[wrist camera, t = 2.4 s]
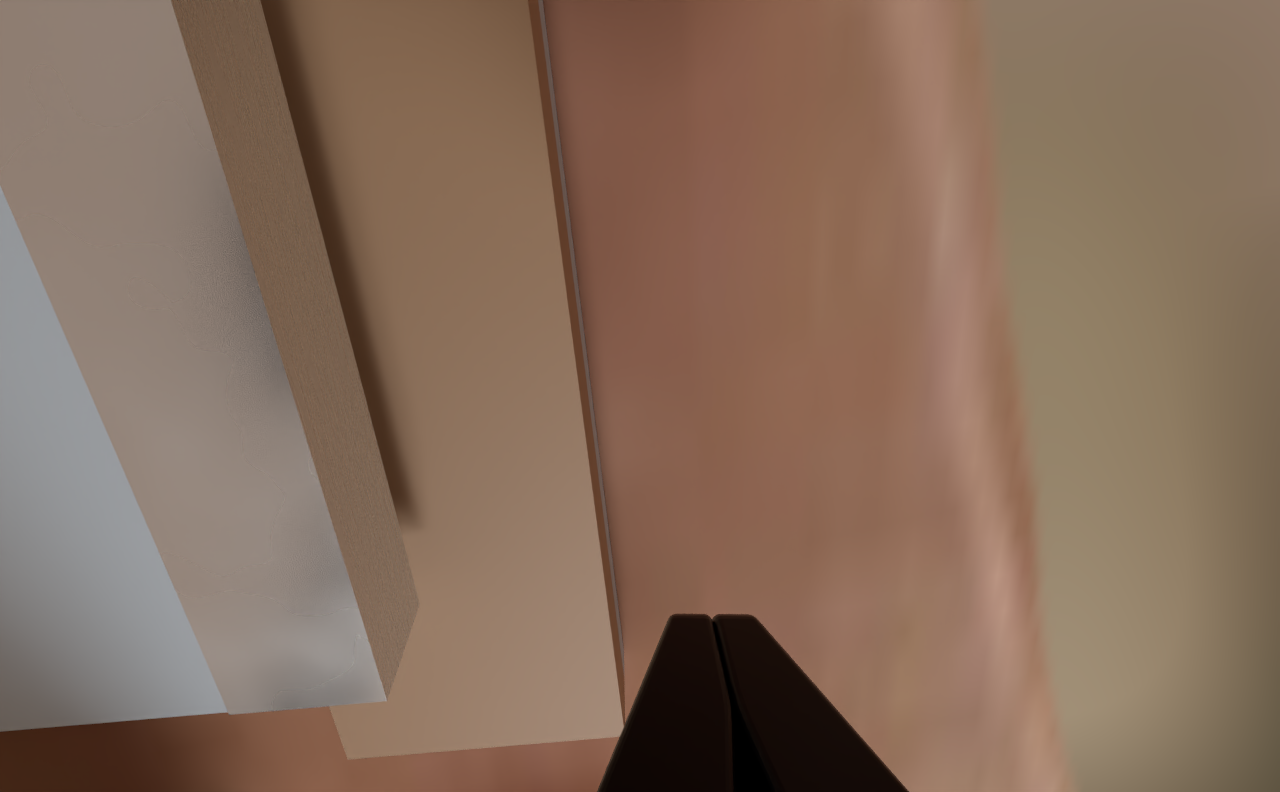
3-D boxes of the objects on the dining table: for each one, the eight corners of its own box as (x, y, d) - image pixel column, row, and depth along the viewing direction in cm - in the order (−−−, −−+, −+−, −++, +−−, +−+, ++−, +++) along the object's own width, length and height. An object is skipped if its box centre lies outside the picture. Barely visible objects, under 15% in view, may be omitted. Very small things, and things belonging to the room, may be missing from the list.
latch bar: (-188, -524, 7) (-574, -788, 5) (169, -561, 7) (-47, -843, 5) (253, 618, 13) (175, 747, 10) (450, 601, 13) (414, 727, 10)
